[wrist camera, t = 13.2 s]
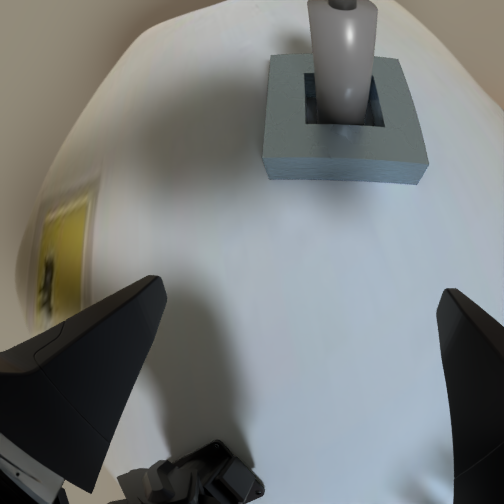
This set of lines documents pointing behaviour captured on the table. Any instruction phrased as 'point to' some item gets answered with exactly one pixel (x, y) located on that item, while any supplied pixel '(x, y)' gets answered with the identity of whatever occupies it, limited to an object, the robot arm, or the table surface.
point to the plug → (342, 58)
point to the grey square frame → (341, 129)
